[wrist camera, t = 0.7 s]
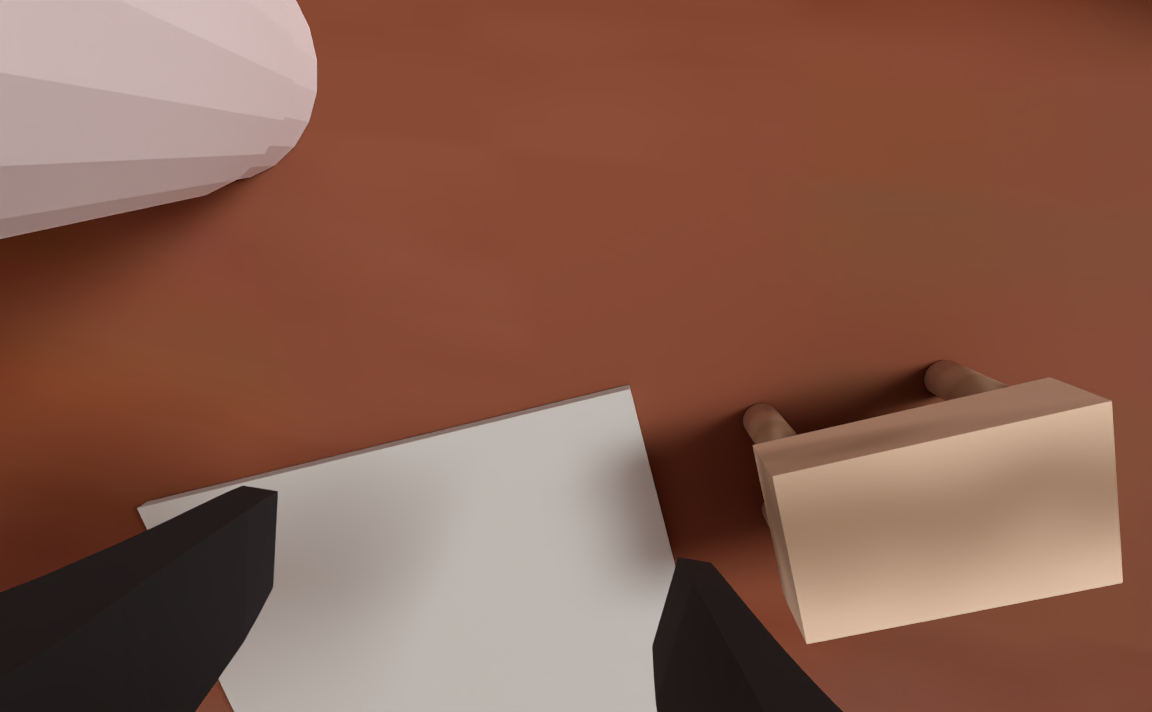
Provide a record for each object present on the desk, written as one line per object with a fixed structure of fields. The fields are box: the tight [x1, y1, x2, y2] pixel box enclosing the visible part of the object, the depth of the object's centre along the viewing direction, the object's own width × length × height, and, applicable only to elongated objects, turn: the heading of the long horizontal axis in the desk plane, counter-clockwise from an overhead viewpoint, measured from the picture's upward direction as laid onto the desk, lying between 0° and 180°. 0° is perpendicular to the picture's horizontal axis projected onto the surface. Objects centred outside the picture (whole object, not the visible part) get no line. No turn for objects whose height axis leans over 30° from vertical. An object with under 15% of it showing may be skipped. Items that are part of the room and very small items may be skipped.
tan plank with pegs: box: [743, 360, 1123, 644], centre depth 18 cm, size 5×8×6 cm, turn 105°
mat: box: [137, 385, 675, 712], centre depth 23 cm, size 20×18×1 cm
